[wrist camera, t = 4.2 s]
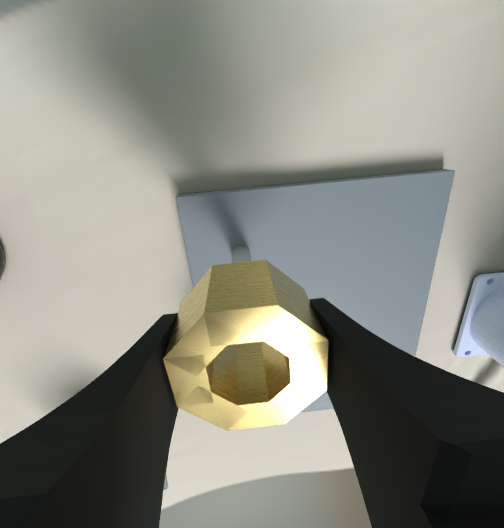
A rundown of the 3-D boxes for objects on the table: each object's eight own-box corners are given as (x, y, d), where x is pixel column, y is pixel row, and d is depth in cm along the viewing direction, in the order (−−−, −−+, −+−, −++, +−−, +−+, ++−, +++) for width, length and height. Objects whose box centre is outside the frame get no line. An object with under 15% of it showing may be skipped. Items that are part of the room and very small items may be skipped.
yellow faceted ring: (303, 255, 11) (329, 299, 8) (305, 355, 13) (325, 419, 10) (174, 269, 11) (151, 318, 8) (196, 367, 13) (185, 435, 10)
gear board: (443, 168, 18) (512, 178, 13) (399, 390, 26) (433, 441, 22) (175, 194, 17) (156, 213, 13) (218, 411, 25) (215, 468, 21)
